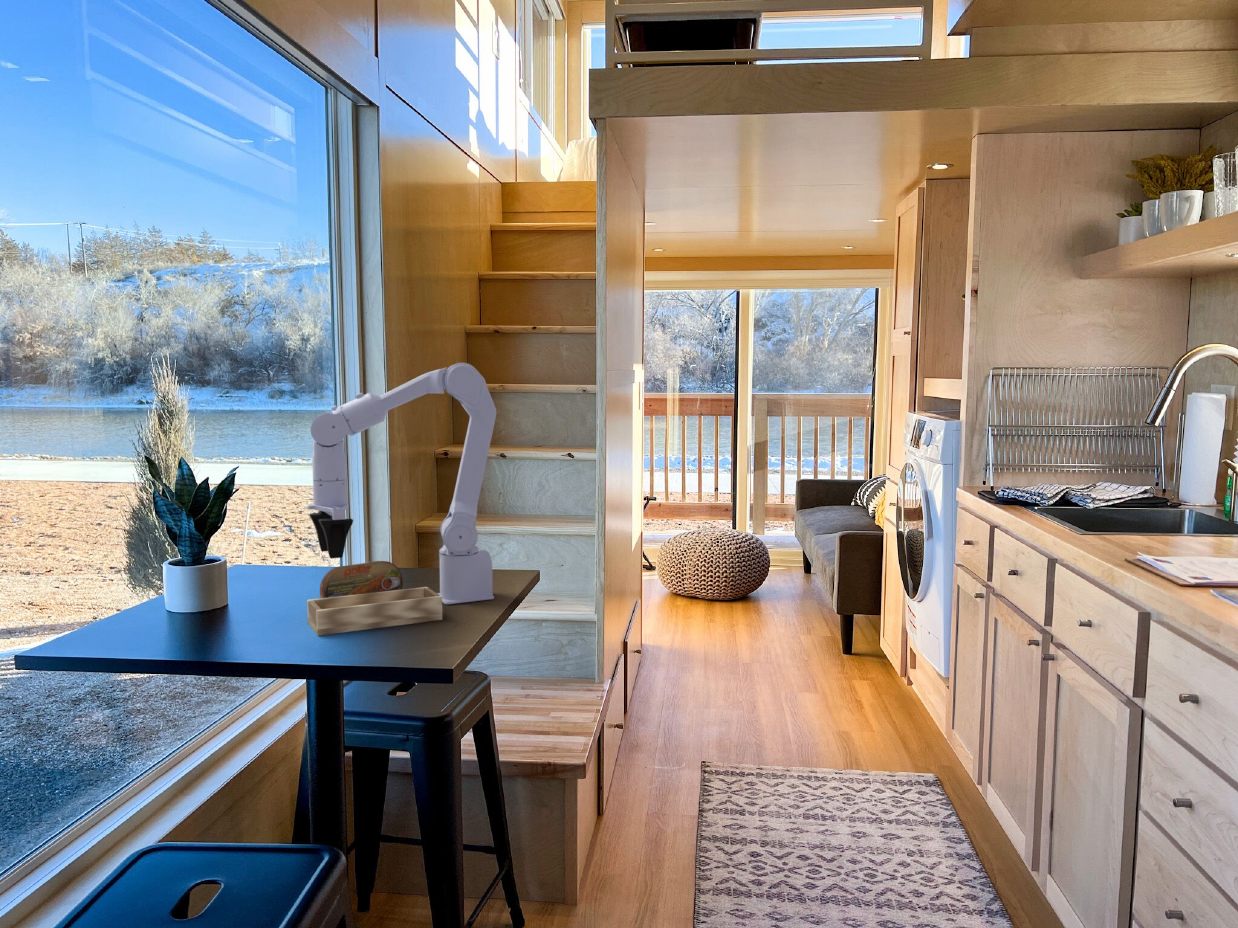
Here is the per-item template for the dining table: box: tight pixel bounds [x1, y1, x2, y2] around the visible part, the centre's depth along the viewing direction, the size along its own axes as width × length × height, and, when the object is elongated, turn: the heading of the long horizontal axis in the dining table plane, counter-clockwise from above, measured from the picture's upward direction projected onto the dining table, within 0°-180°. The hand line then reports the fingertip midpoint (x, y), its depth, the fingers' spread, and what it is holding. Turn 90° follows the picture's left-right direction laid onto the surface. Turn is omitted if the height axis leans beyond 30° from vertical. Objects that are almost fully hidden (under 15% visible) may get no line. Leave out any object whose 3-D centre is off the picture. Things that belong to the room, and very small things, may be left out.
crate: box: [306, 586, 443, 636], centre depth 152 cm, size 21×9×4 cm, turn 119°
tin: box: [319, 560, 404, 598], centre depth 160 cm, size 15×3×8 cm, turn 132°
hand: (331, 554), depth 162 cm, fingers open, 7 cm apart
